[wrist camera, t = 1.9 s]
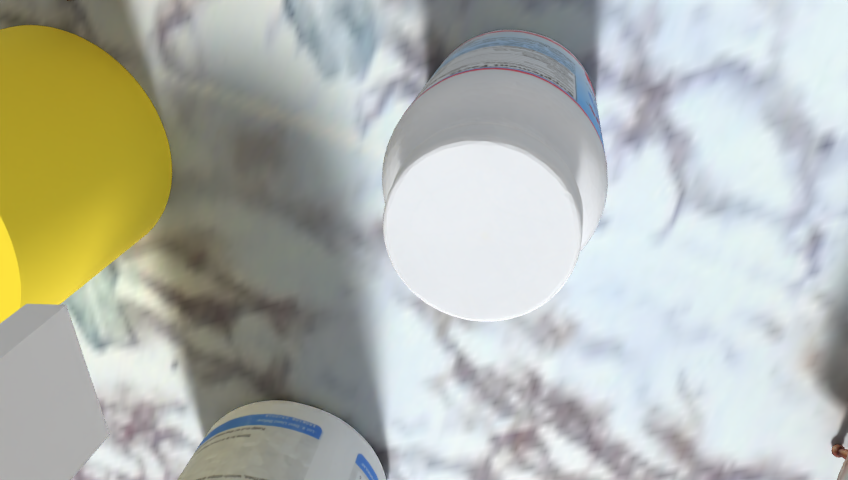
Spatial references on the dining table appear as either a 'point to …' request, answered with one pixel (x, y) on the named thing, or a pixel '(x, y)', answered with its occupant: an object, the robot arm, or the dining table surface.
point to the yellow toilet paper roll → (71, 164)
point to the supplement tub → (282, 446)
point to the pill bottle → (495, 177)
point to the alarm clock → (847, 472)
